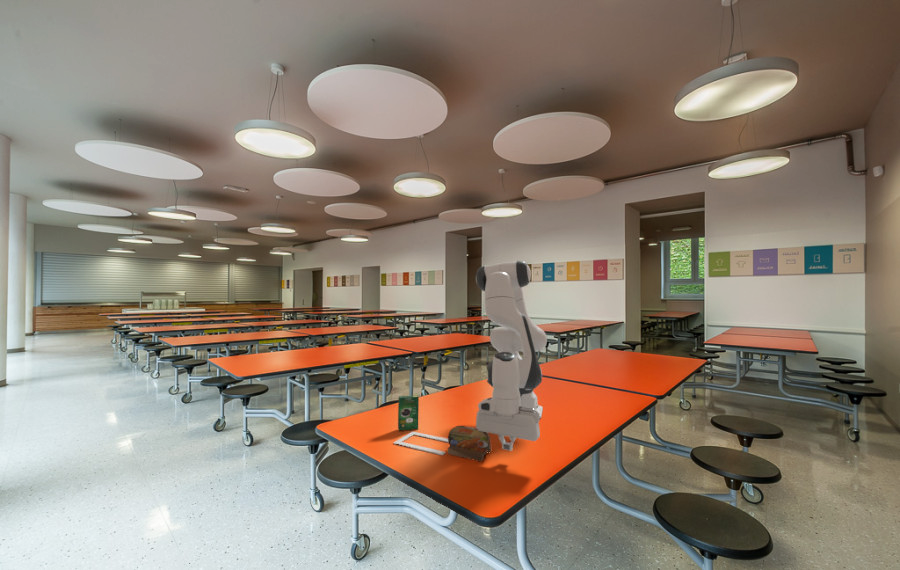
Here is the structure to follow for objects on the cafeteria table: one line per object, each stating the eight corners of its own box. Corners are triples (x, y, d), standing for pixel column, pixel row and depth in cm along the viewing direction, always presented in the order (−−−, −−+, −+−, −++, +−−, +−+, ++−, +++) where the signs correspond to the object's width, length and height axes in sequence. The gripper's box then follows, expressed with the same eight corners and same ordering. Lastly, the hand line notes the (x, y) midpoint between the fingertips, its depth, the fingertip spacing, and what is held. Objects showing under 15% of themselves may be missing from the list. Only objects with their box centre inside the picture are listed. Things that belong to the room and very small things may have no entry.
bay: (412, 432, 134) (412, 431, 134) (459, 442, 124) (459, 441, 124) (393, 443, 123) (393, 442, 123) (442, 455, 113) (442, 454, 113)
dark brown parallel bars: (459, 444, 122) (459, 438, 122) (491, 451, 116) (491, 445, 116) (447, 454, 114) (447, 447, 114) (481, 461, 109) (480, 455, 109)
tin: (447, 450, 117) (447, 425, 118) (451, 447, 120) (451, 422, 120) (489, 459, 110) (488, 432, 111) (492, 455, 113) (492, 429, 113)
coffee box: (418, 427, 140) (417, 394, 140) (419, 429, 137) (418, 396, 138) (397, 429, 138) (397, 395, 138) (398, 431, 135) (398, 397, 136)
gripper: (541, 406, 107) (543, 451, 107) (481, 398, 117) (482, 440, 117) (536, 412, 102) (537, 460, 101) (473, 403, 112) (474, 447, 111)
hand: (507, 449), depth 109 cm, fingers closed
